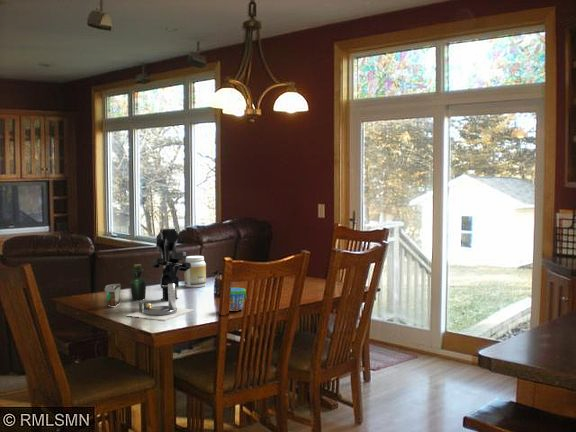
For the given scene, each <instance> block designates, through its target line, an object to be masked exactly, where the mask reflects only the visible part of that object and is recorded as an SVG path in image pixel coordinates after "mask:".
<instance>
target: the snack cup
mask: <svg viewBox="0 0 576 432" xmlns="http://www.w3.org/2000/svg"><path fill="white" fill-rule="evenodd" d="M230 288H231V292H230V309H242V308H243V309H244V303H245V302H246V301H245V298H247V293H246V291H247V290H246V288H244V287H230ZM243 309H242V310H243Z"/></svg>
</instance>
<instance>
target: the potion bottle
mask: <svg viewBox="0 0 576 432" xmlns="http://www.w3.org/2000/svg"><path fill="white" fill-rule="evenodd" d="M133 266H134V268H133V269H132V270H131V272H132V273H133V274H134V277H133V278H132V279H130V281H129V282H130V291H131V300H132V301H135V300H139V301H144V300H145V299H146V295H147V294H146V291H147V280H146V278H144V277H142V273H143V272H144V269H143V268H142V264H141V263H138V264H133ZM143 299H144V300H143Z"/></svg>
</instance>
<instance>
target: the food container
mask: <svg viewBox="0 0 576 432" xmlns="http://www.w3.org/2000/svg"><path fill="white" fill-rule="evenodd" d="M121 287H122V286H121V283H113V284H107V285H105V287H104V292H105V293H106V303H107V306H108V305H110V306H116V305H117V304H119V303H120V304H121Z"/></svg>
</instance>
